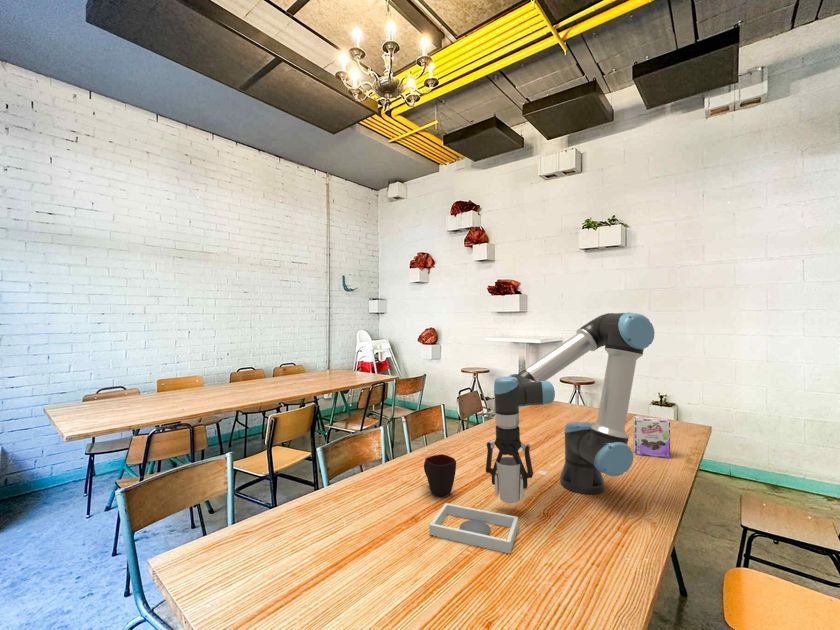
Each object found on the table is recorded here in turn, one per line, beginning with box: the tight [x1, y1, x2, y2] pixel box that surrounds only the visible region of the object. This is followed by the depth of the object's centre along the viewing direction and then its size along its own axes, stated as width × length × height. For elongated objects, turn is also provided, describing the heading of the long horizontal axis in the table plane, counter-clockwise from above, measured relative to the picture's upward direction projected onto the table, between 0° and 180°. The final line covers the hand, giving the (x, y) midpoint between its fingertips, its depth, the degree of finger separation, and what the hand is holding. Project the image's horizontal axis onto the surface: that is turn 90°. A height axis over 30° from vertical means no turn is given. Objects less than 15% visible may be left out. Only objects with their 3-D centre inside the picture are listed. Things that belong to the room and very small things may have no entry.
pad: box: [459, 519, 492, 536], centre depth 114 cm, size 9×9×1 cm
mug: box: [423, 454, 457, 499], centre depth 139 cm, size 10×14×12 cm
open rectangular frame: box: [428, 502, 519, 555], centre depth 113 cm, size 23×14×3 cm, turn 67°
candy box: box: [632, 415, 671, 459], centre depth 175 cm, size 14×6×16 cm, turn 68°
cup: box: [495, 456, 522, 504], centre depth 124 cm, size 8×8×12 cm
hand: (509, 496), depth 124 cm, fingers closed on cup, 7 cm apart
